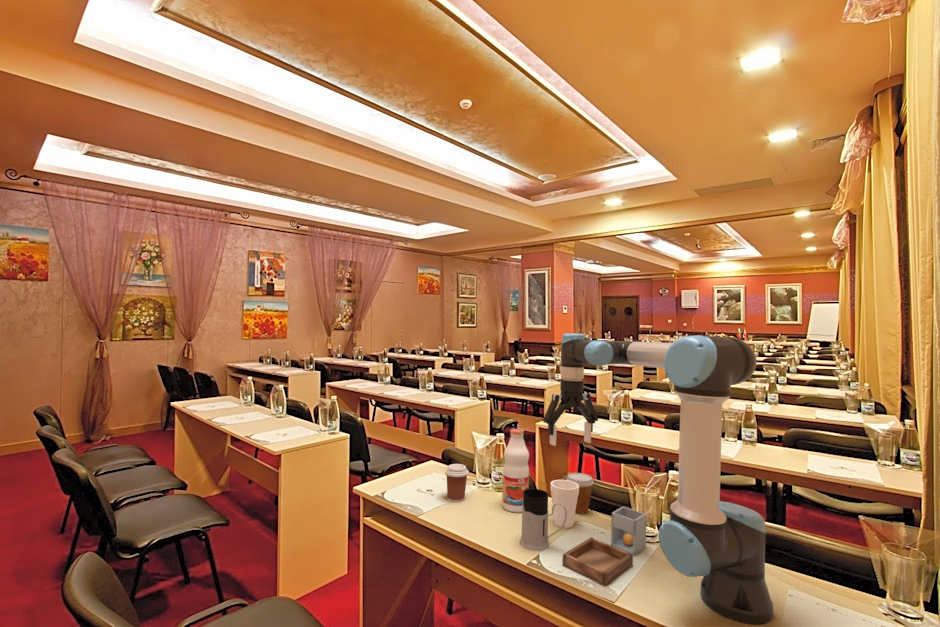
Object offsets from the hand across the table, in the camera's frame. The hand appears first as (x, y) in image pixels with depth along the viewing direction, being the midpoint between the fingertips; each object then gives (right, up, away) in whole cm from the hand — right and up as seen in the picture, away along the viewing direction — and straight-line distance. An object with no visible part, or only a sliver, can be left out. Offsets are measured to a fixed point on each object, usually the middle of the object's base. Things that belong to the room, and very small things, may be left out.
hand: (570, 443), depth 146 cm
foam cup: (-2, -28, +1) cm, 28 cm away
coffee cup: (-39, -27, +20) cm, 51 cm away
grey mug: (-12, -27, -14) cm, 32 cm away
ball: (+15, -27, -13) cm, 33 cm away
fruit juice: (-17, -27, +13) cm, 35 cm away
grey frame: (+15, -27, -13) cm, 34 cm away
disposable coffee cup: (+6, -28, +13) cm, 31 cm away
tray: (+2, -27, -24) cm, 36 cm away
